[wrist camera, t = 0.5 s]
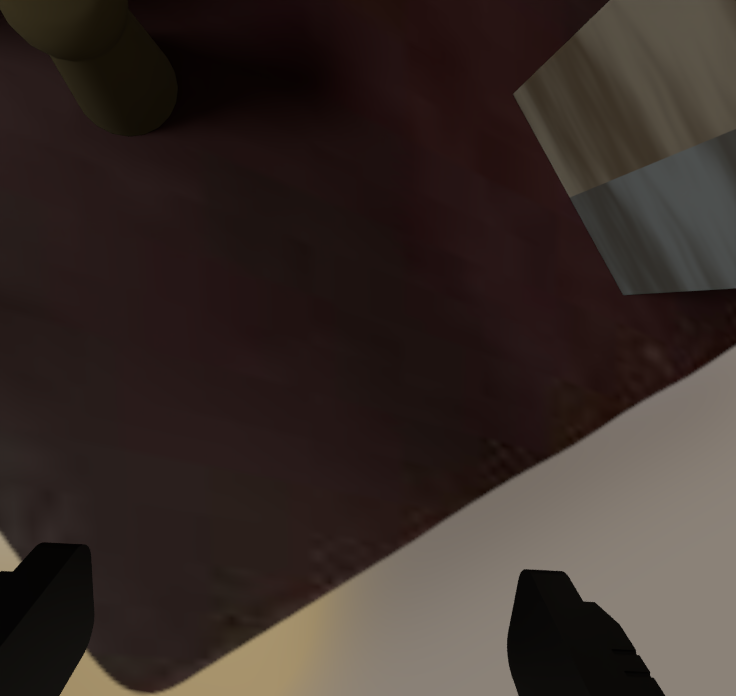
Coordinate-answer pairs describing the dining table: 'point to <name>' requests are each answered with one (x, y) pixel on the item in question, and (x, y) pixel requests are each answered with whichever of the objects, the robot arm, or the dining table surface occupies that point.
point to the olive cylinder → (101, 60)
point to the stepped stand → (647, 139)
